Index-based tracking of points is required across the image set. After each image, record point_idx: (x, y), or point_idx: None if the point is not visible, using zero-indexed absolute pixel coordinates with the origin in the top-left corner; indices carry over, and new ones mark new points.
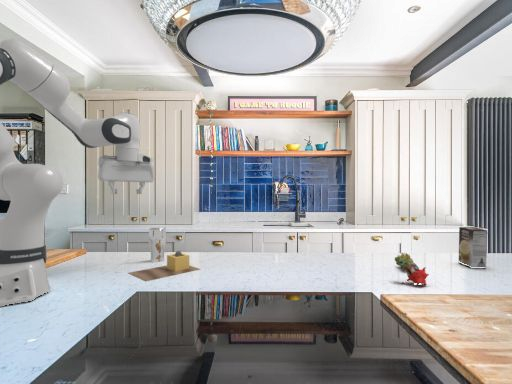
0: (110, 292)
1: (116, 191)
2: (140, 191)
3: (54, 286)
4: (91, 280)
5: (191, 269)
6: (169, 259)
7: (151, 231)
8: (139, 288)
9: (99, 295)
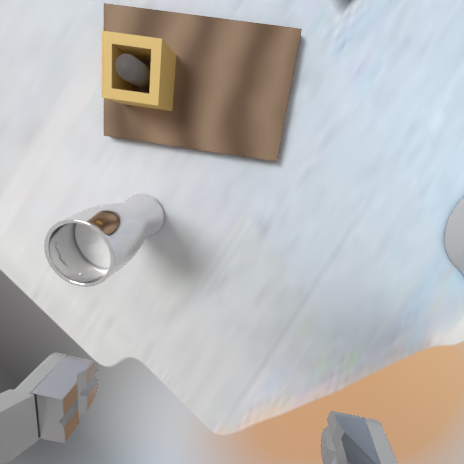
0: (390, 62)
1: (348, 431)
2: (55, 370)
3: (428, 231)
4: (348, 209)
5: (128, 28)
6: (163, 88)
7: (117, 247)
8: (324, 27)
9: (421, 62)
